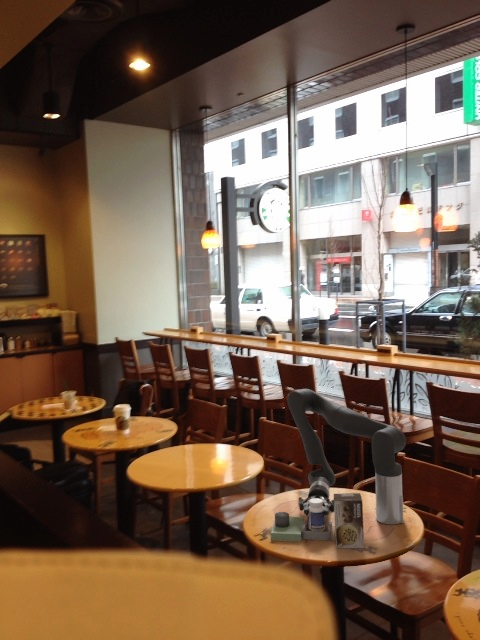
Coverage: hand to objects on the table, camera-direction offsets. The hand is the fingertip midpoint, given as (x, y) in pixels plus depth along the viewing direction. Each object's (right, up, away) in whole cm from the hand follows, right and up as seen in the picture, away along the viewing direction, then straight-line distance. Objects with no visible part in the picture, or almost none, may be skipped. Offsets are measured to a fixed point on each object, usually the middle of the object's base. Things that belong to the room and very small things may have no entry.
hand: (315, 513), depth 198 cm
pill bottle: (+1, -6, +3) cm, 7 cm away
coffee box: (+10, -8, -6) cm, 15 cm away
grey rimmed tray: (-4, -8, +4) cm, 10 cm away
